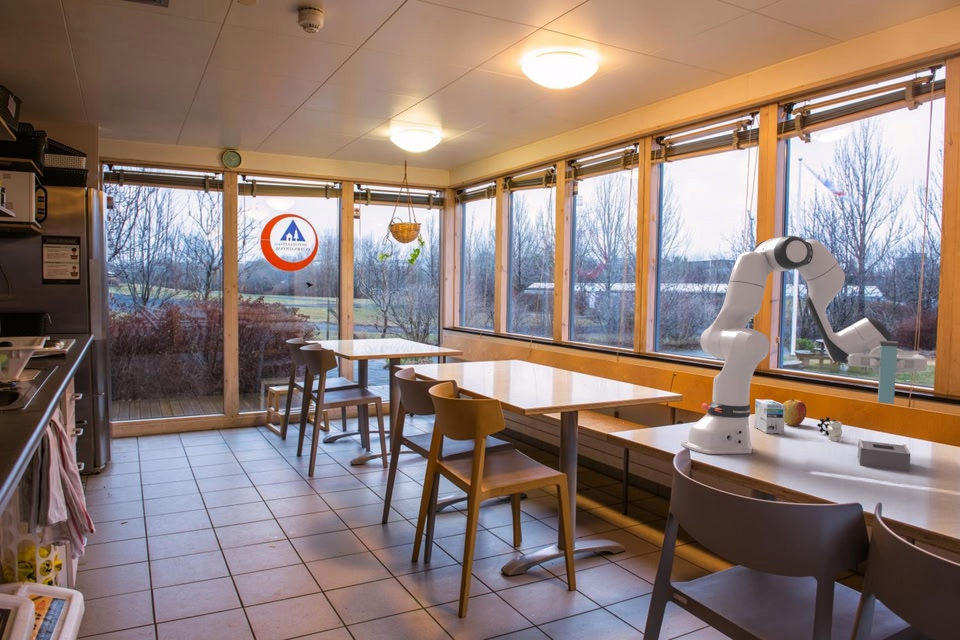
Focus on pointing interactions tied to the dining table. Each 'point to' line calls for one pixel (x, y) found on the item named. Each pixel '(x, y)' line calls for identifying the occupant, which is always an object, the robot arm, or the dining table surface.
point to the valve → (831, 429)
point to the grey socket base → (884, 455)
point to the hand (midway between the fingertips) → (888, 364)
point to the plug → (887, 371)
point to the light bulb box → (769, 416)
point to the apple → (794, 412)
